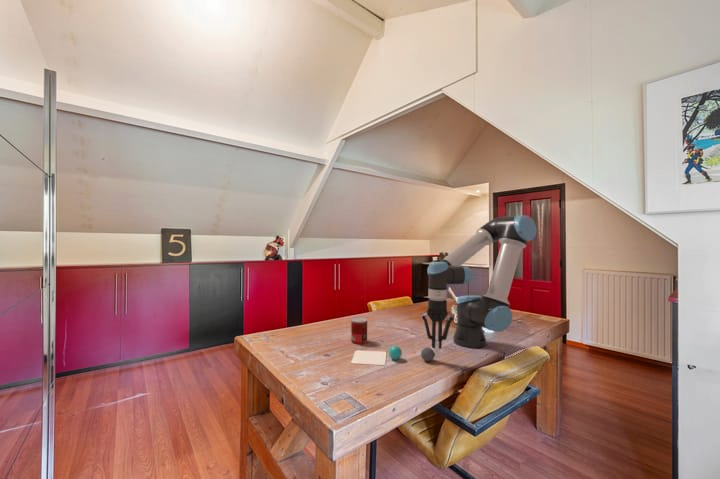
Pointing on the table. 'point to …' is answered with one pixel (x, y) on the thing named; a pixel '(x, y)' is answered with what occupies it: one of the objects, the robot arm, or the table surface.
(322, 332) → the table surface
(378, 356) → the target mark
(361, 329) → the canned food
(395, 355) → the object ball
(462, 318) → the robot arm
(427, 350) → the gray ball
